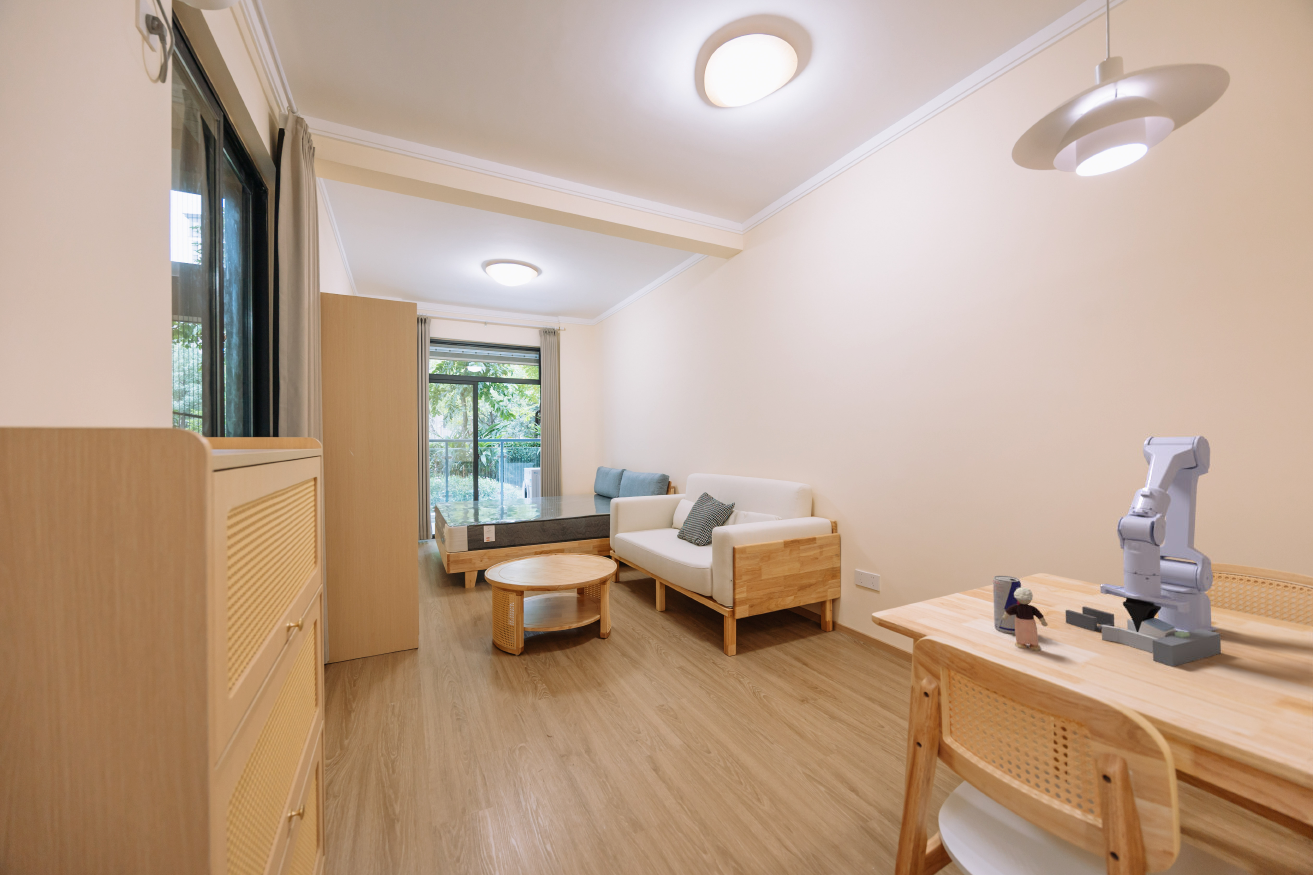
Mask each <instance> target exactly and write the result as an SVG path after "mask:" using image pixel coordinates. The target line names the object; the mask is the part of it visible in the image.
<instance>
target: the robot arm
mask: <svg viewBox="0 0 1313 875" xmlns="http://www.w3.org/2000/svg"><path fill="white" fill-rule="evenodd" d="M1142 453H1143V456H1144V459H1145V460H1146V463H1147V465H1148V469H1147V470H1148V471H1147V475H1146V479H1145V484H1144V487H1142V488H1139V489H1137V490H1136V491H1135V494H1134V497H1133V499H1132V501H1131V504H1130V507H1129V509H1128V511H1127V514H1126V515H1125V516H1121V517H1120V518H1119V519H1118V522H1117V526H1116V532H1117V537H1118V540H1119V547H1120V549H1122V551H1123V552H1122V554H1123V557H1122V558H1123V586H1120V585H1115V584H1108V583H1102V584H1100V594H1103V595H1110V596H1111V595H1112V596H1114V597H1120V598H1124V599H1125V601H1123V602H1122V606H1123V607H1124V608H1125V610H1126V611H1127V613H1128V615H1129V616H1130V619H1132V620H1133V623H1134V625H1135V628H1136V631H1137V632H1139V629H1140V626H1141V623H1142V621H1145V620H1149V619H1152V618H1156V615H1157V616H1158V617H1157V619H1159V620H1162V621H1164V622H1166V623H1168V624H1170V625H1173V626H1175V627H1174V629H1176V632H1179V631H1185V632H1189V631H1193V630H1197V629H1204V630H1208V631H1212V632H1215V631H1217V630H1218V627H1216V626H1213V625H1212V607H1211V606H1212V604H1211V600H1210V597H1209V596H1208V594H1207V593H1206V592H1208V591H1209V590H1210V589H1211V588H1212V586H1213V581H1214V576H1213V569H1212V560H1211V559H1210V558H1209V557H1208V556H1207V555H1205V554H1204V553H1202V552H1201V551H1199V550H1198V549H1196V548H1195V534H1196V533H1195V530H1196V529H1195V528H1196V511H1197V492H1198V491H1197V490H1198V481H1199V479H1200V476H1203V475H1206V474H1208V473H1209V469H1210V466H1211V463H1210V462H1211V461H1210V460H1211V447H1210V443H1209V440H1207V438H1205V437H1204V436H1203V435H1197V436H1156V437H1155V436H1149V437H1147V438H1146V439H1145V440H1144V443H1143V446H1142ZM1171 558H1173V559H1171ZM1175 558H1176V559H1175ZM1178 559H1179V560H1178ZM1180 559H1182V560H1180ZM1185 560H1186V561H1185ZM1187 560H1188V561H1187ZM1192 561H1193V562H1192Z"/></svg>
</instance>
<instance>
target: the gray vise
mask: <svg viewBox="0 0 1313 875" xmlns="http://www.w3.org/2000/svg"><path fill="white" fill-rule="evenodd" d="M1081 609H1082V610H1081V611H1082V612H1078V611H1074V610H1071V609H1066V610H1065V623H1066V624H1068V625H1073V626H1076V627H1080V628H1083V629H1085V630H1089V631H1091V632H1097V631H1098V632H1102V625H1107V626H1113V627H1115V614H1114V613H1110V612H1107V611H1104V610H1100V609H1096V608H1092V607H1089V606H1082V607H1081Z"/></svg>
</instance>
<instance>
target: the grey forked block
mask: <svg viewBox="0 0 1313 875" xmlns="http://www.w3.org/2000/svg"><path fill="white" fill-rule="evenodd" d="M1126 620H1127V621H1126V622H1127V624H1126V625H1127V627H1126V628H1127V629H1126V628H1125V627H1118V626H1114V627H1113V626H1107V625H1102V631H1101V640H1102V641H1107V642H1108V641H1109V642H1113V643H1119V644H1121V645H1125V646H1129V647H1131V648H1134V649H1135V648H1136V649H1139V650H1142V651H1145V652H1148V653H1151V654H1152V658H1153V660H1152V661H1154V662H1157V663H1160V664H1163V665H1166V666H1170V667H1171V668H1173V667H1177V666H1180V665H1181V666H1182V665H1184V664H1188V663H1190V662H1191V663H1192V662H1195V661H1198V660H1202V659H1205V658H1209V657H1213V656H1217V655H1220V654H1221V653H1222V648H1221V647H1222V646H1221V645H1222V644H1221V643H1222V642H1221V641H1222V639H1221V633H1220V632H1219V633H1218V632H1215V631H1208V630H1204V629H1197V630H1193V631H1189V632H1185V631H1179V632H1177V631H1176V632H1175V635H1172V636H1168V637H1164V638H1160V639H1159V638H1156V637H1152V636H1149V635H1145V634H1142V633H1138V632H1137V631H1136V628H1135V625H1134V623H1133V620H1132V618H1127V619H1126ZM1219 653H1220V654H1219ZM1216 654H1217V655H1216Z"/></svg>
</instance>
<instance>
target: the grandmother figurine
mask: <svg viewBox="0 0 1313 875" xmlns="http://www.w3.org/2000/svg"><path fill="white" fill-rule="evenodd" d="M1014 597H1015V598H1016V599H1017V600H1018V602H1019V603H1021V604H1015V605H1011V606H1010V607H1008V608H1007V609H1006V610H1005V613H1004V616H1003V617H1002V618H1003V619H1004V620H1008V617H1010V616H1011V615H1016V618H1015V634H1014V635H1015V641H1016V642H1015V644H1014V646H1016V647H1017V648H1019V649H1021V650H1022V649H1023V650H1026V649H1027V648H1029V649H1030V650H1032V651H1037V652H1038V651H1039V650H1041V649H1042V648H1041V646H1040V644H1039V636H1038V629H1037V623H1036V619H1038V620H1039V622H1041V626H1043V627H1047V626H1049V625H1048V622H1047V621H1046V618H1045V617H1044V615H1043V613H1042V612H1041V611H1040V609H1038V608H1037V607H1036V606H1034V605H1031V602H1032V601H1033V597H1034V596H1033V592H1032V590H1031V589H1030V588H1027V587H1023V586H1021V588H1018V589H1017V590H1016V591H1015V592H1014ZM1034 617H1036V619H1035V618H1034ZM1027 645H1028V646H1029V647H1027Z"/></svg>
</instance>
